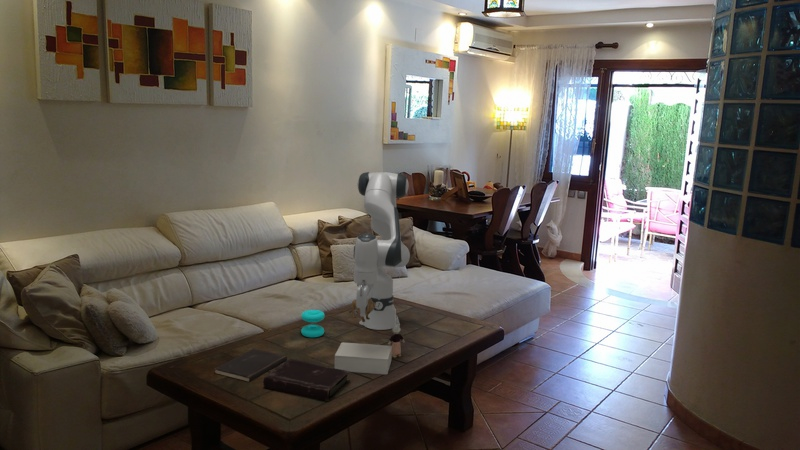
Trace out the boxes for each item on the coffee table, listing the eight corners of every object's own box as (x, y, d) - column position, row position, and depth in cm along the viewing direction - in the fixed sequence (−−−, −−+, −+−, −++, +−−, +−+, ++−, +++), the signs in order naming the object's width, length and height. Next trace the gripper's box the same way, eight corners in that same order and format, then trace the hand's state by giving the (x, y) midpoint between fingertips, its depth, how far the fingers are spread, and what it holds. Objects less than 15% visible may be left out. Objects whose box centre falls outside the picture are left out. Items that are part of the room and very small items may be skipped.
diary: (327, 404, 208) (327, 390, 207) (263, 390, 217) (263, 376, 216) (351, 382, 225) (351, 369, 224) (290, 370, 234) (290, 357, 233)
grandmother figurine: (398, 352, 255) (399, 322, 252) (405, 355, 252) (406, 325, 250) (385, 356, 249) (386, 326, 247) (391, 359, 247) (392, 329, 244)
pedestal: (341, 356, 248) (341, 342, 247) (391, 360, 246) (392, 345, 245) (334, 370, 234) (334, 355, 233) (387, 374, 232) (387, 359, 231)
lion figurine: (379, 320, 236) (377, 298, 234) (369, 325, 232) (367, 302, 230) (353, 311, 246) (351, 290, 244) (343, 315, 242) (341, 294, 240)
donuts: (300, 315, 265) (302, 308, 275) (299, 338, 267) (302, 330, 276) (323, 316, 265) (325, 309, 275) (323, 338, 267) (325, 330, 277)
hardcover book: (214, 374, 228) (214, 368, 227) (253, 354, 248) (253, 348, 248) (249, 383, 221) (249, 377, 221) (287, 361, 242) (287, 356, 241)
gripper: (369, 285, 224) (368, 322, 226) (377, 271, 244) (376, 305, 246) (352, 284, 224) (351, 320, 226) (361, 270, 244) (360, 304, 247)
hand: (364, 312), depth 236 cm, fingers closed on lion figurine, 7 cm apart
